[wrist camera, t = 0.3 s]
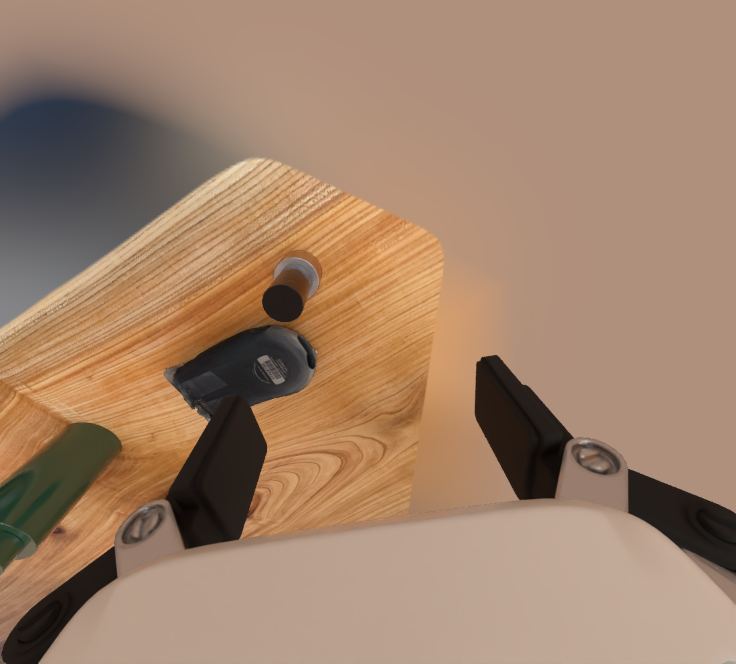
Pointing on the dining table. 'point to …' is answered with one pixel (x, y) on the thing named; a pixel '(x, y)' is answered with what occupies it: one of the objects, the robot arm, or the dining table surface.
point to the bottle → (51, 487)
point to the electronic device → (246, 369)
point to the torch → (292, 286)
